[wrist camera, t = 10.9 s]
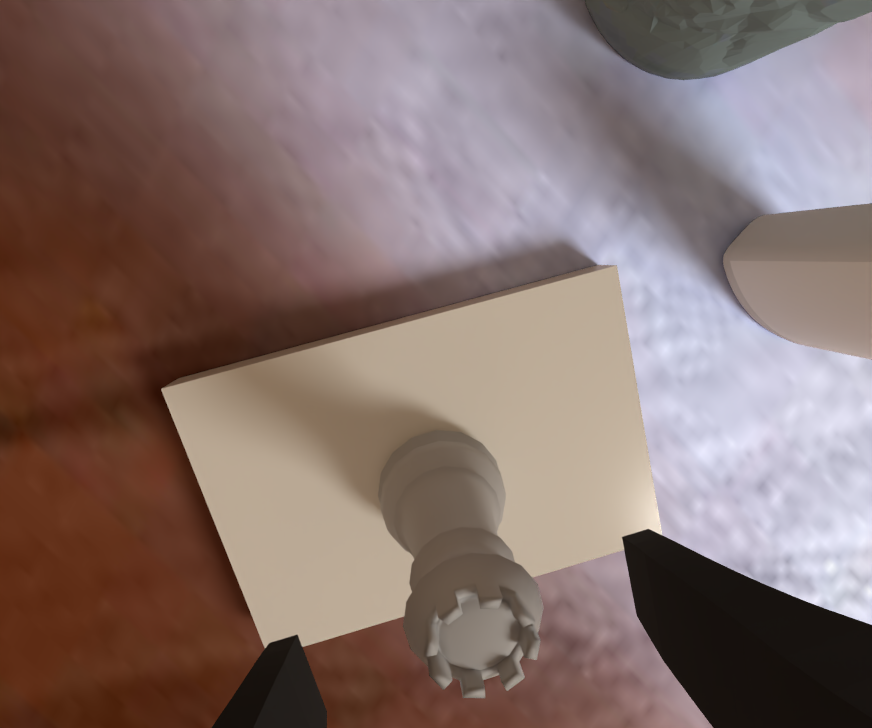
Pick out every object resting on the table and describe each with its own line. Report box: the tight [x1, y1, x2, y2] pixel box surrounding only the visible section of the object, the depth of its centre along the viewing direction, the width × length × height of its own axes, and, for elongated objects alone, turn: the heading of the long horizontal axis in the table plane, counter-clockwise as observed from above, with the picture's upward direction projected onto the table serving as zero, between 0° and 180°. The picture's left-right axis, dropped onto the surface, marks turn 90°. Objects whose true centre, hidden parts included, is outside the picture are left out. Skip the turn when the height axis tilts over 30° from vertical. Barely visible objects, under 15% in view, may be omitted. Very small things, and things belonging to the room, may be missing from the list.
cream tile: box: [161, 265, 662, 648], centre depth 19 cm, size 16×11×2 cm
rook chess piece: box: [378, 430, 543, 698], centre depth 14 cm, size 4×4×8 cm
